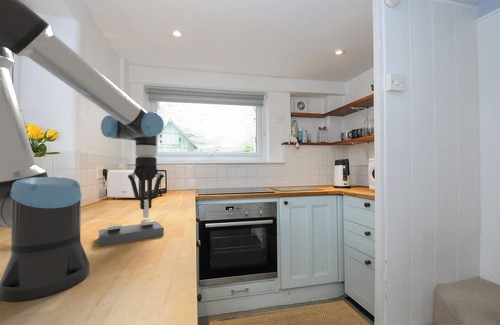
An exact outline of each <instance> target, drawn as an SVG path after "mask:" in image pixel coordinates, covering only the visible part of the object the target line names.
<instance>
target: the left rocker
mask: <svg viewBox="0 0 500 325" xmlns="http://www.w3.org/2000/svg"><path fill="white" fill-rule="evenodd" d="M118 228H122V224H121V223H120V224H119V223H118V224H117V223H116V224H110V225H107V227H106V229H108V230H111V229H118Z"/></svg>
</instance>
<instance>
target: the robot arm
mask: <svg viewBox="0 0 500 325" xmlns="http://www.w3.org/2000/svg"><path fill="white" fill-rule="evenodd" d="M13 54H15V55H16V56H18V57H26V58H29V59H30V60H31V61H33V62H34V63H36V65H39V67H41V68H42V69H45V71H48V72H49V73H50V74H51V75H53V76H54V77H56V78H57V79H59V80H60V81H61V82H63V83H64V84H65V85H67V86H68V87H70V88H71V89H73V90H74V91H76V92H77V93H79V95H81V96H83V97H84V98H85V99H87V100H88V101H90V102H91V103H92V104H94V105H95V106H97V107H99V109H101V110H103V111H105V113H107V115H106V116H104V117H103V118H102V120H101V123H100V130H101V134H102V135H103V136H104V137H105V138H110V139H114V140H115V139H117V140H128V141H133V142H134V141H135V156H136V157H135V160H134V161H135V168H134V170H133V172H132V173H131V174H128V175H127V178H128V180H130V184H131V188H132V192H133V195H134V196H133V197H134V198H135V200H138V201H139V202H140V203H139V204H140V207H139V208H140V210H142V211H143V212H142V217H143V219H149V216H150V215H149V212H150V211H149V209H151V208H152V201H153V200H154V199H157V197H158V193H159V188H160V184H161V181H162V179H164V174H163V173H160V172H159V170H158V169H157V168H158V166H157V160H158V159H157V156H158V155H157V154H158V153H157V145H158V144H157V142H158V141H157V139H158V137H157V136H159V135H160V134H161V133H162V132H163V131H164V127H165V125H164V124H165V123H164V119H163V117H162V116H161V115H160V114H159V113H158V112H154V111H146V110H145V109H144V108H142V107H141V106H140V105H139V104H138V103H137V102H135V101H134V100H133V99H132V98H130V97H129V96H128V95H127V94H126V93H125V92H123V90H121V89H120V88H119V87H117V85H115V84H114V83H113V82H111V81H110V80H109V79H108V78H106V77H105V75H103V74H102V73H101V72H100V71H98V70H97V69H96V68H95V67H93V66H92V65H91V64H90V63H88V61H86V60H85V59H84V58H82V56H80V54H78V53H77V52H75V51H74V50H73V49H72V48H70V47H69V46H68V45H67V44H66V43H65V42H63V41H62V40H61V39H60V38H59V37H57V36H56V35H55V34H54V33H53V32H52V29H51V25H50V24H49V23H48V22H47V21H46V20H44V19H43V18H42V17H41V16H40V15H38V14H37V12H35V11H33V10H32V9H31V8H30V7H28V6H27V5H26V4H25V3H23V2H22V1H21V0H0V226H2V227H6V228H8V229H9V228H10V229H11V230H10V231H11V236H10V238H11V239H10V240H11V241H10V242H11V253H10V258H9V259H8V261H7V262H8V263H6V264H7V265H6V267H5V269H4V271H3V274H2V276H1V278H0V300H3V301H5V302H6V301H7V302H18V301H27V300H28V301H29V300H34V299H39V298H43V297H46V296H50V295H54V294H57V293H59V292H62V291H64V290H66V289H69V288H71V287H73V286H75V285H77V284H79V283H81V282H82V281H83V280H85V279H86V278H87V277H88V276H89V274H90V261H89V259H88V257H87V254H86V252H85V249H84V246H83V245H82V242H81V217H82V216H81V215H82V214H81V213H82V212H81V211H82V209H81V208H82V207H81V206H82V192H81V184H80V183H79V182H78V181H77V180H76V179H73V178H69V177H57V176H49V175H48V173H47V172H48V171H47V170H46V169H44V168H41V167H40V166H38V165H37V162H36V159H35V155H34V152H33V150H32V149H33V148H32V146H31V143H30V139H29V136H28V132H27V129H26V126H25V121H24V118H23V114H22V111H21V108H20V105H19V102H18V98H17V95H16V91H15V88H14V84H13V81H12V78H11V74H10V72H9V71H10V69H11V68H12V67H13V66H15V63H16V62H15V60H14V56H13ZM108 114H109V115H108ZM155 177H156V180H155V184H154V188H153V180H154V178H155ZM136 178H138V180H139V184H140V185H139V191H138V186H137V184H136V180H135V179H136ZM146 184H147V190H146V189H145V188H146V187H145V186H146ZM145 190H146V191H147V192H145ZM152 191H153V192H152ZM145 193H146V194H145ZM145 195H147V196H145ZM145 197H146V198H147V199H145Z"/></svg>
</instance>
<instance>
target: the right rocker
mask: <svg viewBox="0 0 500 325" xmlns="http://www.w3.org/2000/svg"><path fill="white" fill-rule="evenodd" d="M155 222H156V220H154V219H149V218H148V219H142V220H140V222H139V224H142V225H150V224H155Z"/></svg>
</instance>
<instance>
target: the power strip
mask: <svg viewBox="0 0 500 325" xmlns="http://www.w3.org/2000/svg"><path fill="white" fill-rule="evenodd" d="M164 234H165V233H164V226H162V225H161V224H160V223H159V222H157V221H155V224H150V225H142V224H140V223H139V224H138V223H137V224H130V225H124V226H122V228H118V229H111V230H108V229H107V228H101V229H98V245H99V246H98V247H99V248H101V247H107V246H113V245H118V244H119V245H120V244H124V243H130V242H135V241H140V240H146V239H152V238H158V237H163V236H165V235H164Z"/></svg>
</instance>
